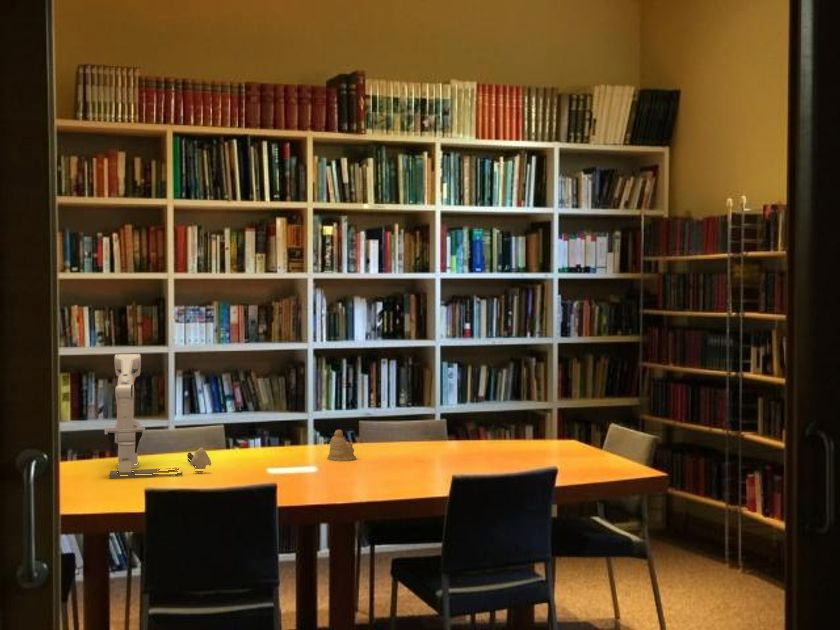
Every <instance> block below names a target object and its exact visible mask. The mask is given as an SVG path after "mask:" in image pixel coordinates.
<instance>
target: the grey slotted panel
mask: <svg viewBox="0 0 840 630" xmlns="http://www.w3.org/2000/svg"><path fill="white" fill-rule="evenodd" d="M171 468H172V469H175V470H168V471H159V470H160V469H161V468H159V467H158V468H147V469H145V468H142V469H141V468H140V469H132V471H134V472H132V473H125V474H119V469H117V470H110V471H109V480H112V479H113V480H114V479H115V480H118V479H119V480H120V479H140V478H139V477H145V478H156V477H155V476H169V477H172V476H171V475H182V476H183V472H182V473H177V474H153V473H169V472H178V471H177V470H179V468H180V467H174V468H173V467H171ZM171 468H166V469H171ZM177 468H178V469H177ZM117 472H118V473H117ZM135 474H152V475H135ZM120 475H128V476H120Z"/></svg>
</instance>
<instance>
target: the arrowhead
mask: <svg viewBox="0 0 840 630" xmlns="http://www.w3.org/2000/svg"><path fill="white" fill-rule="evenodd" d="M192 465H195V466H196V467H194V470H195V469H205V470H206V467H207V466H212V460H211V458H210V456H209V454H208V453H207V451H206V450H205V449H204V447H200V448H198V449H197V451H196V453H195V454H194V456H193V458H192V460H191V462H190V463H189V466H191V467H192ZM194 472H195V473H197V472H202V473H203V472H205V471H194Z"/></svg>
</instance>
